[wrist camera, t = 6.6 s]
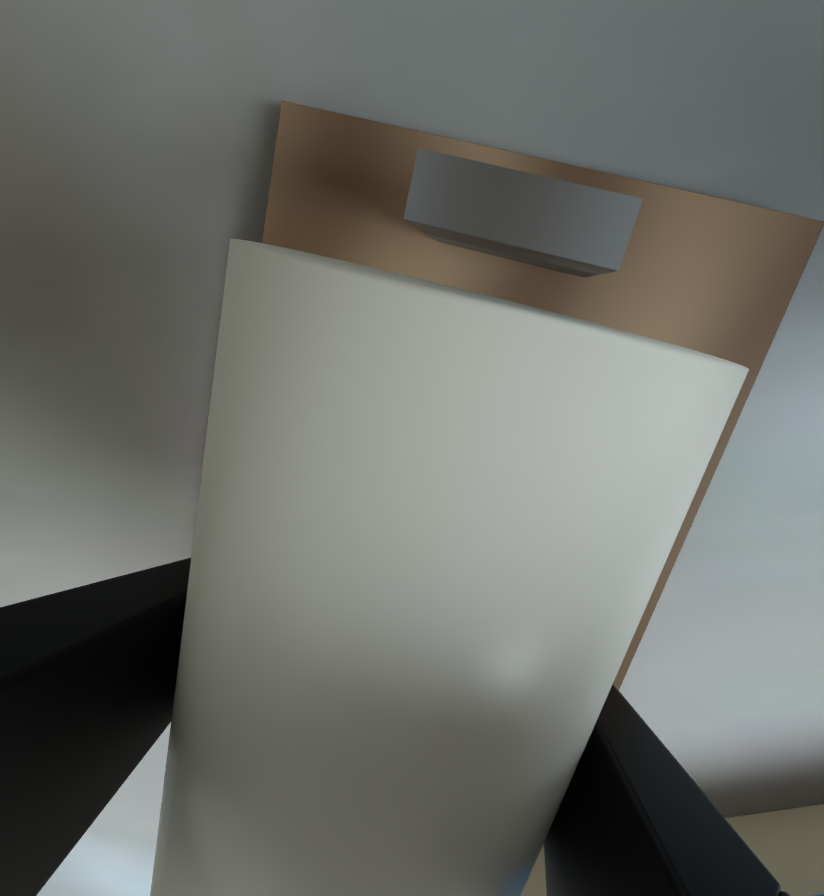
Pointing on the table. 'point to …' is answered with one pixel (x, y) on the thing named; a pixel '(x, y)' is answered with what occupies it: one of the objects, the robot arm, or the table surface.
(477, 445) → the cylinder
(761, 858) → the book
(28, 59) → the table surface
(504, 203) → the roll holder
